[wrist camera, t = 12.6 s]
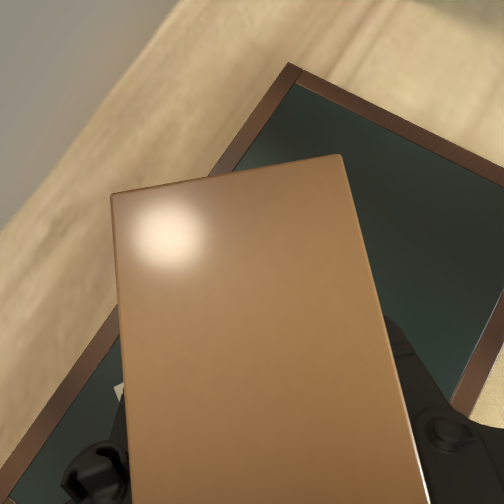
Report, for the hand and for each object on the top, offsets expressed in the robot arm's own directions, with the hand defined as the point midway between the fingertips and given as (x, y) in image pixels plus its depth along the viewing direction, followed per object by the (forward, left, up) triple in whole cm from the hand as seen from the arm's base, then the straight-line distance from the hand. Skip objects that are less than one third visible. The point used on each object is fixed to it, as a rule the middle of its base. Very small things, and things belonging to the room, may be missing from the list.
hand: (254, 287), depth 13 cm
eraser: (+3, +3, -3) cm, 5 cm away
